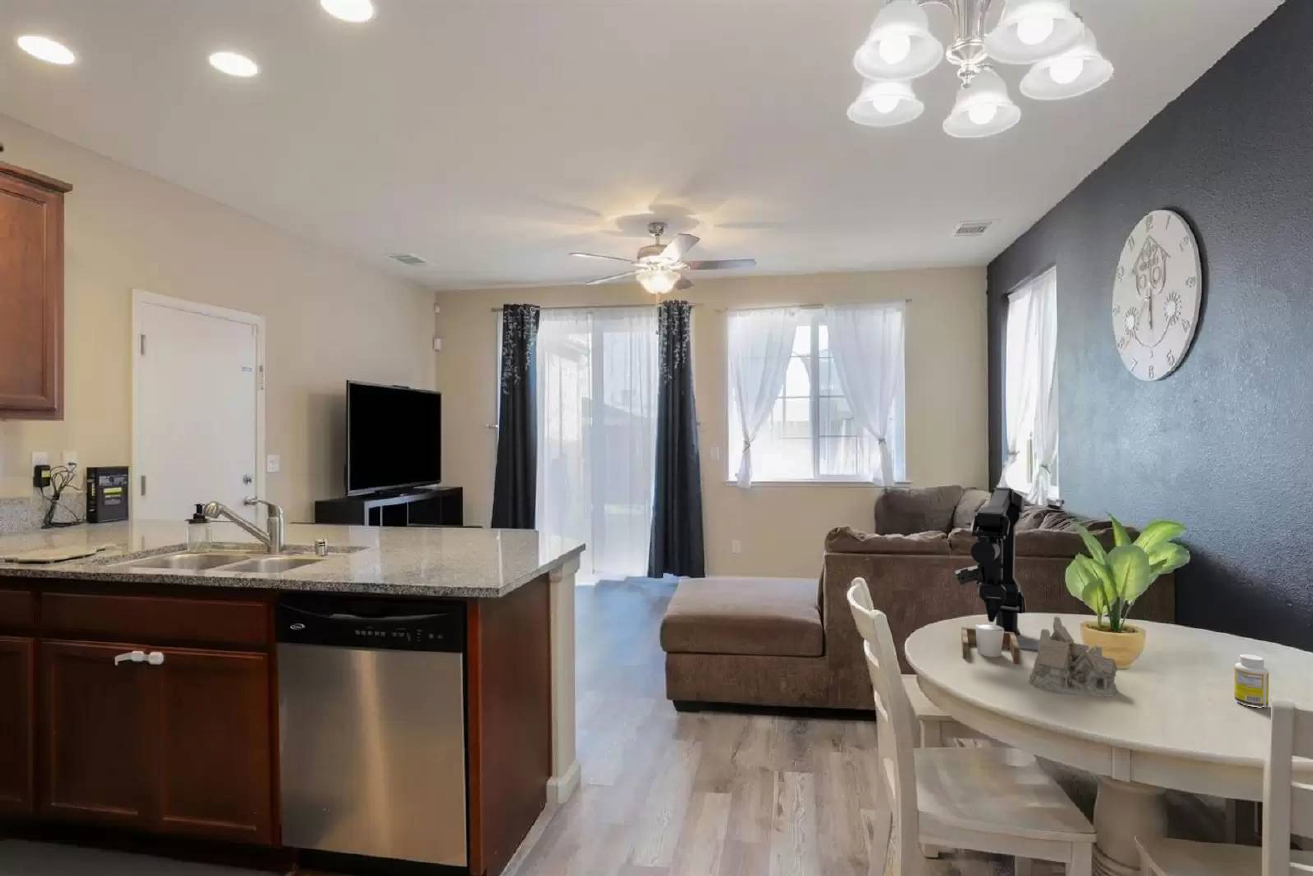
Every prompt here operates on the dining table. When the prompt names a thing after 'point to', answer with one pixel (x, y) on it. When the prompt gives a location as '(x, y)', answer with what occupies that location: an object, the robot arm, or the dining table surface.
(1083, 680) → the ceramic cottage
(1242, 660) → the supplement bottle
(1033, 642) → the coaster
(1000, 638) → the white cup
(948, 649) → the dining table surface
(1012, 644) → the brown wooden u-shaped piece
